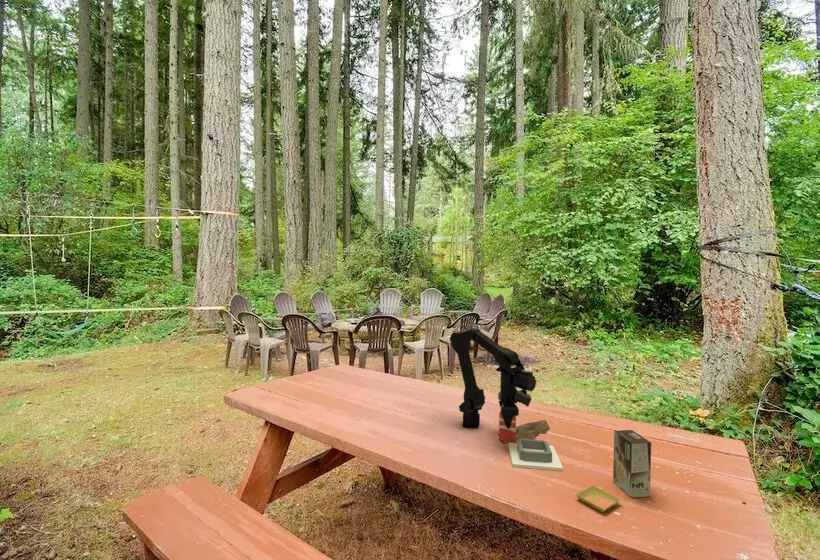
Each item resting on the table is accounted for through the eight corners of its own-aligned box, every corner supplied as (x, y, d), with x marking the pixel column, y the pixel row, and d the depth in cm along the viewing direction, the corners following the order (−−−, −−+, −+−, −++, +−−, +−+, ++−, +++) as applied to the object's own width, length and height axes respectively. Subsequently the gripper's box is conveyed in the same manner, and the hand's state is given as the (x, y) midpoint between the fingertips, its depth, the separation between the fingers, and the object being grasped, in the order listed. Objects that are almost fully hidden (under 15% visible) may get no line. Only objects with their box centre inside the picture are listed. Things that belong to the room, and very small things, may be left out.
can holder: (512, 466, 131) (512, 455, 131) (508, 445, 147) (508, 434, 146) (562, 471, 128) (563, 459, 128) (553, 448, 144) (553, 437, 144)
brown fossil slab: (527, 444, 148) (527, 441, 148) (502, 435, 156) (502, 432, 156) (560, 425, 165) (560, 423, 165) (536, 418, 173) (536, 415, 173)
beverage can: (516, 438, 153) (516, 407, 152) (514, 445, 147) (515, 413, 146) (500, 435, 155) (500, 405, 154) (498, 442, 149) (498, 411, 148)
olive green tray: (592, 491, 118) (592, 484, 118) (621, 506, 110) (621, 499, 110) (574, 501, 113) (575, 493, 113) (603, 517, 106) (604, 509, 106)
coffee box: (651, 497, 114) (653, 442, 114) (630, 498, 114) (632, 443, 113) (631, 479, 123) (632, 429, 123) (611, 480, 123) (612, 430, 122)
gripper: (533, 393, 139) (533, 437, 140) (526, 378, 158) (526, 416, 158) (501, 392, 141) (500, 434, 142) (498, 377, 159) (497, 415, 160)
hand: (507, 424), depth 150 cm, fingers closed on beverage can, 6 cm apart
